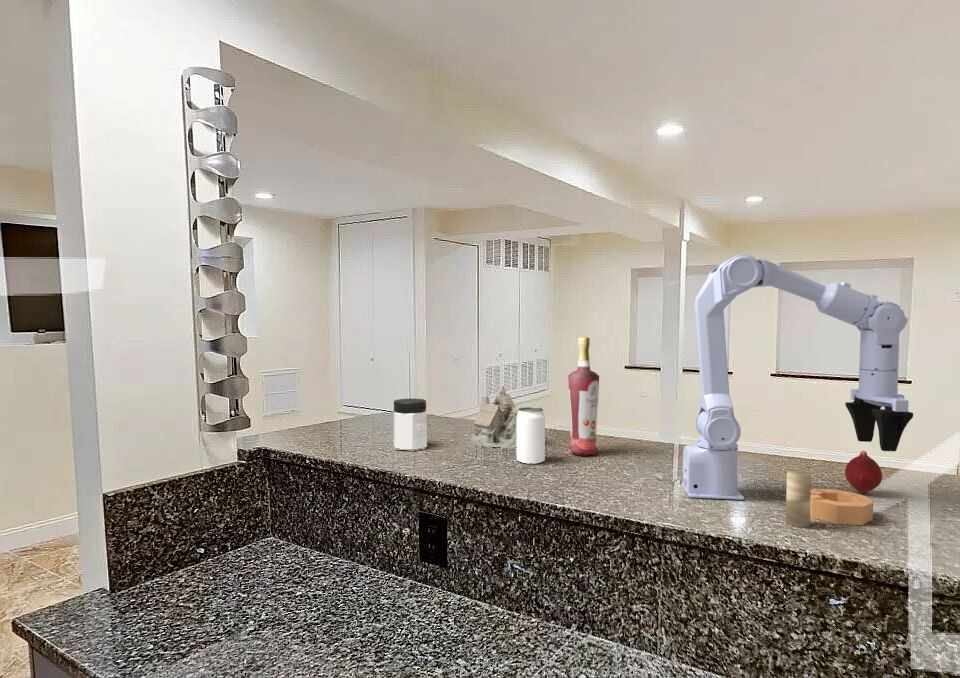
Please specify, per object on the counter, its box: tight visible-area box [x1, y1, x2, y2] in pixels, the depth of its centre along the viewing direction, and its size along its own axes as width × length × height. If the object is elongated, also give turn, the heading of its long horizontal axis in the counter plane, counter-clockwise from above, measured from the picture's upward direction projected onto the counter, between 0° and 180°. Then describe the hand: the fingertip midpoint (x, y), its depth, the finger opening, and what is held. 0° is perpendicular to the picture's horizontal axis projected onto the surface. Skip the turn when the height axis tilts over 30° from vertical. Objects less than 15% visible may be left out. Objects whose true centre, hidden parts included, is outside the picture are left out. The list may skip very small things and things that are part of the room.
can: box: [516, 406, 546, 464], centre depth 134 cm, size 6×6×12 cm
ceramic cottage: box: [469, 385, 520, 449], centre depth 153 cm, size 16×16×15 cm
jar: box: [393, 398, 428, 449], centre depth 148 cm, size 9×8×12 cm
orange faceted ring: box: [810, 488, 874, 526], centre depth 98 cm, size 9×9×3 cm
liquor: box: [567, 337, 600, 457], centre depth 141 cm, size 7×7×28 cm
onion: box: [844, 450, 883, 495], centre depth 109 cm, size 6×6×8 cm
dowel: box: [785, 471, 812, 529], centre depth 94 cm, size 3×3×8 cm
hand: (876, 445), depth 104 cm, fingers open, 7 cm apart
